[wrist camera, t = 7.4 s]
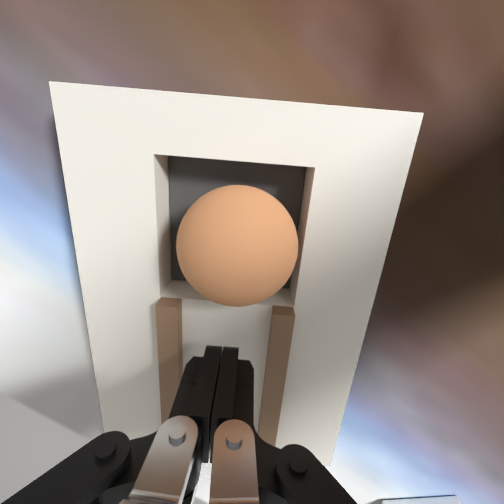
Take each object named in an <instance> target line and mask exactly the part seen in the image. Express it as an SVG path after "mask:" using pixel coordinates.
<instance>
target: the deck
mask: <svg viewBox="0 0 504 504" xmlns="http://www.w3.org/2000/svg"><path fill="white" fill-rule="evenodd" d="M49 85H50V91H51V98H52V104H53V111H54V117H55V123H56V130H57V136H58V142H59V149H60V155H61V162H62V168H63V174H64V181H65V187H66V193H67V200H68V206H69V213H70V219H71V225H72V232H73V238H74V245H75V251H76V257H77V264H78V270H79V276H80V283H81V289H82V296H83V302H84V308H85V315H86V321H87V327H88V334H89V340H90V347H91V353H92V359H93V366H94V372H95V378H96V385H97V391H98V398H99V404H100V410H101V417H102V423H103V430H104V433H106V432H110V431H120V432H123V433H125V434H126V435H127V436H128V438H129V440H132V439H136V438H140V437H144V436H147V435H150V434H152V433H154V432H156V431H157V430H158V429H159V428H160V426H161V425H162V424H163V423H164V422H165V421H166V420H167V419H168V417H169V415H170V412H171V409H172V406H173V403H174V400H175V396H176V393H177V390H178V387H179V384H180V381H181V378H182V376H183V372H184V369H185V366H186V364H187V363H188V362H189V361H190V360H191V358H192V357H193V356H198V357H203V356H204V352H205V349H206V346H207V345H211V346H222V352H223V347H224V346H226V347H239V354H238V359H240V360H250V362H251V364H252V366H253V368H254V427H255V430H256V432H257V434H258V435H259V436H260V438H261V439H262V440H264V441H265V442H266V443H268V444H270V445H272V446H275V447H277V448H279V449H282V448H283V447H284V446H286V445H289V444H298V445H301V446H304V447H305V448H307V449H308V450H310V451H311V452H312V453H313V454H314V456H315V457H316V458H317V459H318V460H319V461H320V462H321V463H322V465H323V466H330V464H331V461H332V457H333V453H334V449H335V445H336V442H337V438H338V434H339V430H340V427H341V423H342V419H343V415H344V412H345V408H346V404H347V400H348V397H349V393H350V389H351V385H352V381H353V378H354V374H355V370H356V366H357V363H358V359H359V355H360V351H361V348H362V344H363V340H364V336H365V333H366V329H367V325H368V321H369V317H370V314H371V310H372V306H373V302H374V299H375V295H376V291H377V287H378V284H379V280H380V276H381V272H382V269H383V265H384V261H385V257H386V253H387V250H388V246H389V242H390V238H391V235H392V231H393V227H394V223H395V220H396V216H397V212H398V208H399V205H400V201H401V197H402V193H403V189H404V186H405V182H406V178H407V174H408V171H409V167H410V163H411V159H412V156H413V152H414V148H415V144H416V141H417V137H418V133H419V129H420V126H421V122H422V118H423V114H424V113H416V112H404V111H393V110H381V109H369V108H358V107H346V106H334V105H322V104H311V103H299V102H287V101H275V100H264V99H252V98H240V97H228V96H217V95H205V94H193V93H181V92H170V91H158V90H146V89H134V88H123V87H111V86H99V85H87V84H76V83H64V82H52V81H49ZM305 171H306V173H305ZM304 178H305V180H304ZM229 185H245V186H251V187H255V188H258V189H260V190H263V191H265V192H267V193H269V194H270V195H272V196H273V197H274V198H276V199H277V200H278V201H279V202H280V203H281V204H282V205H283V206H284V207H285V209H286V210H287V211H288V213H289V215H290V216H291V218H292V220H293V222H294V225H295V228H296V232H297V237H298V255H297V260H296V263H295V267H294V269H293V272H292V274H291V276H290V277H289V279H288V280H287V282H286V283H285V284H284V285H283V286H282V288H281V289H280V290H279V291H278V292H276V293H275V294H274V295H273V296H271V297H269V298H268V299H266V300H264V301H262V302H260V303H257V304H253V305H249V306H243V307H232V306H226V305H221V304H218V303H215V302H213V301H210V300H208V299H207V298H205V297H203V296H202V295H201V294H199V293H198V292H197V291H196V290H195V289H194V288H193V287H192V286H191V285H190V284H189V282H188V281H187V280H186V278H185V276H184V275H183V273H182V271H181V268H180V265H179V262H178V258H177V251H176V241H177V234H178V230H179V226H180V223H181V221H182V219H183V217H184V215H185V214H186V212H187V211H188V209H189V208H190V207H191V206H192V204H193V203H194V202H195V201H196V200H198V199H199V198H200V197H201V196H203V195H204V194H206V193H208V192H210V191H212V190H214V189H216V188H220V187H224V186H229ZM303 185H304V187H303ZM302 192H303V194H302ZM301 199H302V202H301ZM300 207H301V209H300ZM299 214H300V216H299ZM298 221H299V223H298ZM297 228H298V230H297ZM290 278H291V280H290ZM289 285H290V287H289ZM209 458H210V453H209Z"/></svg>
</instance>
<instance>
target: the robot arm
mask: <svg viewBox="0 0 504 504" xmlns="http://www.w3.org/2000/svg"><path fill="white" fill-rule="evenodd" d="M238 354H239V347H226V346H224V347H223V352H222V346H211V345H207V346H206V349H205V352H204V356H203V357H198V356H193V357H192V358H191V360H190V361H189V362H188V363H187V364H186V366H185V369H184V372H183V376H182V378H181V381H180V384H179V387H178V390H177V393H176V396H175V400H174V403H173V406H172V409H171V412H170V415H169V417H168V419H167V420H166V421H165V422H164V423H163V424H162V425H161V426H160V428H159V429H158V430H157V431H156V432H154V433H152V434H150V435H147V436H144V437H140V438H136V439H132V440H129V438H128V436H127V435H126V434H125V433H123V432H120V431H110V432H106V433H103V434H101V435H99V436H98V437H96V438H95V439H93V440H92V441H90V442H89V443H88V444H86V445H85V446H83V447H82V448H80V449H79V450H77V451H76V452H75V453H73V454H72V455H70V456H69V457H67V458H66V459H64V460H63V461H62V462H60V463H59V464H57V465H56V466H55V467H53V468H52V469H50V470H49V471H47V472H46V473H44V474H43V475H42V476H40V477H39V478H37V479H36V480H34V481H33V482H32V483H30V484H29V485H27V486H26V487H24V488H23V489H21V490H20V491H19V492H17V493H16V494H14V495H13V496H11V497H10V498H9V499H7V500H6V501H4V502H3V503H1V504H193V502H194V498H195V494H196V490H197V483H198V480H199V475H200V469H201V464H202V463H208V460H209V453H210V463H212V472H211V486H210V500H209V504H357V503H356V502H355V501H354V499H353V498H352V497H351V496H350V495H349V494H348V493H347V492H346V490H345V489H344V488H343V487H342V486H341V485H340V484H339V483H338V481H337V480H336V479H335V478H334V477H333V476H332V475H331V474H330V472H329V471H328V470H327V469H326V468H325V467H324V466H323V465H322V463H321V462H320V461H319V460H318V459H317V458H316V457H315V456H314V454H313V453H312V452H311V451H310V450H308V449H307V448H305V447H304V446H301V445H298V444H289V445H286V446H284V447H283V448H282V449H279V448H277V447H275V446H272V445H270V444H268V443H266V442H265V441H264V440H262V439H261V438H260V436H259V435H258V434H257V432H256V430H255V427H254V368H253V366H252V364H251V362H250V360H240V359H238Z"/></svg>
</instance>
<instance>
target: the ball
mask: <svg viewBox="0 0 504 504" xmlns="http://www.w3.org/2000/svg"><path fill="white" fill-rule="evenodd" d="M176 251H177V258H178V262H179V265H180V268H181V271H182V273H183V275H184V276H185V278H186V280H187V281H188V282H189V284H190V285H191V286H192V287H193V288H194V289H195V290H196V291H197V292H198V293H199V294H201V295H202V296H203V297H205V298H207V299H208V300H210V301H213V302H215V303H218V304H221V305H226V306H232V307H243V306H249V305H253V304H257V303H260V302H262V301H264V300H266V299H268V298H269V297H271V296H273V295H274V294H275V293H276V292H278V291H279V290H280V289H281V288H282V286H283V285H284V284H285V283H286V282H287V280H288V279H289V277H290V276H291V274H292V272H293V269H294V267H295V263H296V260H297V255H298V237H297V232H296V228H295V225H294V222H293V220H292V218H291V216H290V215H289V213H288V211H287V210H286V209H285V207H284V206H283V205H282V204H281V203H280V202H279V201H278V200H277V199H276V198H274V197H273V196H272V195H270V194H269V193H267V192H265V191H263V190H260V189H258V188H255V187H251V186H245V185H229V186H224V187H220V188H216V189H214V190H212V191H210V192H208V193H206V194H204V195H203V196H201V197H200V198H199V199H198V200H196V201H195V202H194V203H193V204H192V206H191V207H190V208H189V209H188V211H187V212H186V214H185V215H184V217H183V219H182V221H181V223H180V226H179V230H178V234H177V241H176Z"/></svg>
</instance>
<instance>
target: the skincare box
mask: <svg viewBox="0 0 504 504" xmlns="http://www.w3.org/2000/svg"><path fill="white" fill-rule="evenodd" d="M382 504H462V502H461V500H460V499H459V497H458V496H443V497H428V498H413V499H397V500H383V501H382Z"/></svg>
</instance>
